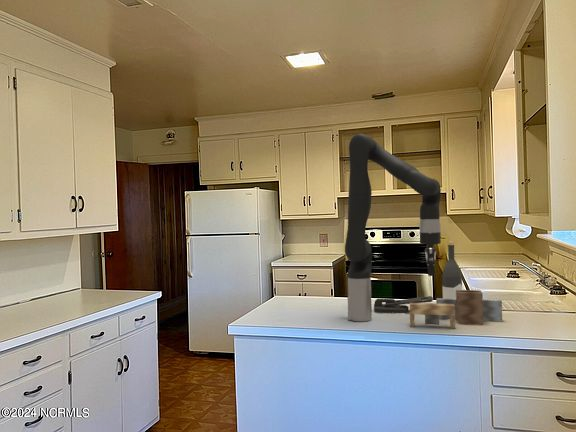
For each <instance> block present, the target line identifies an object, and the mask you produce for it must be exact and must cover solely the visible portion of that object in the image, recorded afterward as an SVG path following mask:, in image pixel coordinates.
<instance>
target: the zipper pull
mask: <svg viewBox="0 0 576 432" xmlns="http://www.w3.org/2000/svg"><path fill="white" fill-rule="evenodd" d="M433 301H434V298H433V296H432V295H430V296H429V295H428V296H420V297H413V298H412V297H411V298H406V299H394V298H376V299H375V300H374V304H373V311H374V313H376V314H396V313H405V314H408V313H410V306H408V305H410V303H431V302H433ZM407 312H408V313H407Z"/></svg>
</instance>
